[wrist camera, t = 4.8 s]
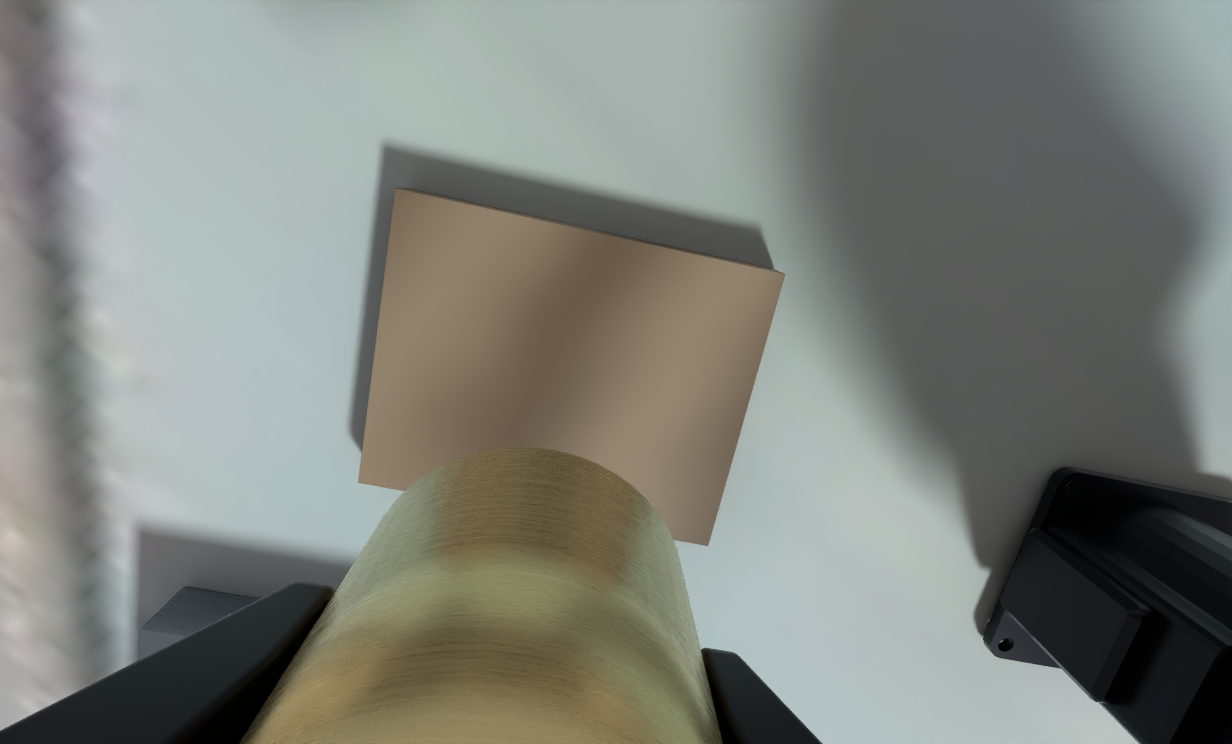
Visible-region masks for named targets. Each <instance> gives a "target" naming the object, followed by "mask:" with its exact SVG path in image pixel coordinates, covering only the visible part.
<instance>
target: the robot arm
mask: <svg viewBox="0 0 1232 744" xmlns="http://www.w3.org/2000/svg"><path fill="white" fill-rule="evenodd" d="M1071 481H1073V484H1072V486H1071V487H1070V488H1068V489H1066V486H1067V485H1068V483H1069V482H1071ZM334 593H335V590H334V589H333V588H332V587H331V586H327V585H321V584H315V583H309V582H302V581H297V582H294V583H291V584H289V585H287V586H285V587H283V588H281V589H279V590H277V591H275V592H273V593H271V594H269V595H267V596H265V597H263V598H261V599H259V600H257V601H255V602H253V603H251V604H249V605H248V606H246V607H244V608H242V609H240V610H238V611H236V612H234V613H232V614H230V615H228V616H226V617H224V618H222V619H220V620H218V621H216V622H214V623H212V624H210V625H208V626H206V627H204V628H202V629H200V630H198V631H196V632H194V633H192V634H190V635H188V636H186V637H184V638H182V639H180V640H178V641H176V642H174V643H172V644H170V645H169V646H167V647H165V648H163V649H161V650H159V651H157V652H155V653H153V654H151V655H149V656H147V657H145V658H143V659H141V660H139V661H137V662H135V663H133V664H131V665H129V666H127V667H125V668H123V669H121V670H119V671H117V672H115V673H113V674H111V675H109V676H107V677H105V678H103V679H101V680H99V681H97V682H95V683H93V684H91V685H90V686H88V687H86V688H84V689H82V690H80V691H78V692H76V693H74V694H72V695H70V696H68V697H66V698H64V699H62V700H60V701H58V702H56V703H54V704H52V705H50V706H48V707H46V708H44V709H42V710H40V711H38V712H36V713H34V714H32V715H30V716H28V717H26V718H24V719H22V720H20V721H18V722H16V723H14V724H12V725H11V726H9V727H7V728H5V729H3V730H1V731H0V744H239V742H240V741H241V739H242V738H243V736H244V735H245V733H246V731H247V730H248V728H249V727H250V725H251V724H252V722H253V720H254V719H255V717H256V716H257V714H258V713H259V711H260V709H261V708H262V706H263V705H264V703H265V702H266V700H267V699H268V697H269V695H270V694H271V692H272V691H273V689H274V688H275V686H276V684H277V683H278V681H279V680H280V678H281V677H282V675H283V673H284V672H285V670H286V669H287V667H288V666H289V664H290V662H291V661H292V659H293V658H294V656H295V655H296V653H297V651H298V650H299V648H300V647H301V645H302V644H303V642H304V641H305V639H306V637H307V636H308V634H309V633H310V631H311V630H312V628H313V626H314V625H315V623H316V622H317V620H318V619H319V617H320V615H321V614H322V612H323V611H324V609H325V608H326V606H327V604H328V603H329V601H330V600H331V598H332V597H333V595H334ZM1004 638H1006V639H1005V640H1004V641H1003V642H1001V643H999V642H1000V641H1001V640H1002V639H1004ZM983 641H984V644H985V645H986V646H987V648H988V649H989V650H990V651H991V652H992V653H993V654H994V655H995V656H996V657H999V658H1003V659H1009V660H1015V661H1020V662H1026V663H1032V664H1038V665H1043V666H1049V667H1055V668H1061V669H1062V670H1063V671H1064V672H1065V673H1066V674H1067V675H1068V676H1069V677H1070V678H1071V679H1072V680H1073V681H1074V682H1075V683H1076V684H1077V685H1078V686H1079V687H1080V688H1081V689H1082V690H1083V691H1084V692H1085V693H1086V694H1087V695H1088V696H1089V697H1090V698H1091V699H1092V700H1094V701H1095V702H1099V703H1100V704H1101V705H1102V706H1103V707H1104V708H1105V709H1106V710H1107V711H1108V712H1109V713H1110V714H1111V715H1112V716H1113V717H1114V718H1115V719H1116V720H1117V721H1118V722H1119V724H1120V725H1121V726H1122V727H1123V728H1124V729H1125V730H1126V731H1127V732H1128V733H1129V734H1130V735H1131V736H1132V737H1133V738H1134V739H1135V740H1136V741H1137V742H1138V743H1139V744H1232V499H1228V498H1223V497H1218V496H1213V495H1208V494H1203V493H1198V492H1193V491H1188V490H1183V489H1178V488H1173V487H1169V486H1164V485H1159V484H1154V483H1149V482H1144V481H1139V480H1134V479H1129V478H1124V477H1119V476H1114V475H1109V474H1104V473H1099V472H1094V471H1089V470H1084V469H1079V468H1074V467H1063V468H1061V469H1058V470H1057V471H1056V472H1054V473H1053V475H1052V476H1051V478H1050V479H1049V482H1048V484H1047V486H1046V489H1045V491H1044V493H1043V496H1042V498H1041V500H1040V503H1039V505H1038V508H1037V510H1036V512H1035V515H1034V517H1033V519H1032V522H1031V524H1030V527H1029V529H1028V531H1027V534H1026V536H1025V538H1024V541H1023V543H1022V545H1021V548H1020V550H1019V553H1018V555H1017V557H1016V560H1015V562H1014V564H1013V567H1012V569H1011V571H1010V574H1009V576H1008V579H1007V581H1006V583H1005V586H1004V588H1003V590H1002V593H1001V595H1000V598H999V600H998V602H997V605H996V607H995V609H994V612H993V614H992V616H991V619H990V621H989V624H988V626H987V628H986V631H985V633H984V637H983ZM701 653H702V657H703V661H704V666H705V670H706V674H707V679H708V683H709V687H710V691H711V696H712V700H713V704H714V708H715V713H716V717H717V721H718V726H719V730H720V734H721V738H722V743H723V744H822V743H821V742H820V741H819V740H818V739H817V738H816V737H815V735H814V734H813V733H812V732H811V731H810V730H809V729H808V728H807V727H806V726H805V725H804V724H803V723H802V722H801V721H800V720H799V719H798V718H797V716H796V715H795V714H794V713H793V712H792V711H791V710H790V709H789V708H788V707H787V706H786V705H785V704H784V703H783V702H782V701H781V700H780V699H779V698H778V696H777V695H776V694H775V693H774V692H773V691H772V690H771V689H770V688H769V687H768V686H767V685H766V684H765V683H764V682H763V681H762V680H761V679H760V677H759V676H758V675H757V674H756V673H755V672H754V671H753V670H752V669H751V668H750V667H749V666H748V665H747V664H746V663H745V662H744V661H743V660H742V658H741V657H739V656H738V655H737V654H736V653H733V652H729V651H723V650H717V649H710V648H703V649H701Z"/></svg>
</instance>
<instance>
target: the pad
mask: <svg viewBox="0 0 1232 744" xmlns="http://www.w3.org/2000/svg"><path fill="white" fill-rule="evenodd" d="M784 277H785V274H784V273H781V272H779V271H777V270H775V269H770V268H765V267H761V266H756V265H752V264H747V263H743V262H738V261H734V260H729V259H725V258H720V257H716V256H711V255H707V254H702V253H697V252H693V251H688V250H684V249H679V248H675V247H670V246H666V245H661V244H657V243H652V242H648V241H643V240H639V239H634V238H629V237H625V236H620V235H616V234H611V233H607V232H602V231H598V230H593V229H589V228H584V227H580V226H575V225H570V224H566V223H561V222H557V221H552V220H548V219H543V218H539V217H534V216H530V215H525V214H521V213H516V212H512V211H507V210H502V209H498V208H493V207H489V206H484V205H480V204H475V203H471V202H466V201H462V200H457V199H453V198H448V197H444V196H439V195H434V194H430V193H425V192H421V191H416V190H412V189H407V188H395V193H394V201H393V209H392V217H391V225H390V233H389V241H388V249H387V257H386V265H385V273H384V281H383V289H382V297H381V305H380V313H379V320H378V328H377V336H376V344H375V352H374V360H373V368H372V376H371V384H370V392H369V400H368V408H367V416H366V424H365V432H364V440H363V448H362V456H361V464H360V471H359V479H358V483H363V484H368V485H374V486H380V487H385V488H391V489H396V490H402V491H406V490H407V489H408V488H409V487H410V486H411V485H412V484H414V483H415V482H416V481H418V480H419V479H421V478H422V477H423V476H425V475H426V474H427V473H429V472H431V471H433V470H435V469H436V468H438V467H440V466H442V465H444V464H446V463H448V462H450V461H453V460H455V459H458V458H461V457H463V456H466V455H469V454H473V453H477V452H481V451H486V450H491V449H499V448H508V447H535V448H543V449H551V450H557V451H561V452H565V453H569V454H573V455H577V456H579V457H582V458H584V459H587V460H589V461H592V462H595V463H597V464H599V465H601V466H603V467H604V468H606V469H608V470H610V471H612V472H614V473H615V474H617V475H618V476H620V477H621V478H622V479H624V480H625V481H627V482H628V483H629V484H631V485H632V486H633V487H634V488H635V489H636V490H638V491H639V492H640V493H641V494H642V495H643V496H644V497H645V498H646V499H647V500H648V501H649V502H650V504H651V505H652V506H653V507H654V509H655V510H656V511H657V512H658V514H659V515H660V516H661V518H662V520H663V521H664V523H665V525H666V526H667V528H668V530H669V531H670V534H671V536H672V539H673V540H678V541H683V542H689V543H694V544H700V545H706V546H708V544H709V541H710V537H711V534H712V530H713V526H714V523H715V519H716V516H717V512H718V509H719V505H720V502H721V498H722V495H723V491H724V488H725V484H726V481H727V477H728V474H729V470H730V467H731V463H732V460H733V456H734V453H735V449H736V446H737V442H738V438H739V435H740V431H741V428H742V424H743V421H744V417H745V414H746V410H747V407H748V403H749V400H750V396H751V393H752V389H753V386H754V382H755V379H756V375H757V372H758V368H759V365H760V361H761V358H762V354H763V350H764V347H765V343H766V340H767V336H768V333H769V329H770V326H771V322H772V319H773V315H774V312H775V308H776V305H777V301H778V298H779V294H780V291H781V287H782V284H783V280H784Z"/></svg>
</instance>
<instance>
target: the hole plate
mask: <svg viewBox="0 0 1232 744" xmlns="http://www.w3.org/2000/svg"><path fill="white" fill-rule="evenodd" d="M257 600H259V599H255V598H249V597H243V596H237V595H231V594H225V593H219V592H213V591H207V590H201V589H194V588H188V587H183V588H182V589H181V590H180V591H179V592H178V593H177V594H176V595H175V596H174V597H173V598H172V599H171V600H170V601H169V602H168V603H167V604H166V605H165V606H164V607H163V608H162V609H161V610H160V611H159V612H158V613H157V614H156V615H155V616H154V617H152V618H151V619H150V620H149V621H148V622H147V623H146V624H145V625H144V626H143V627H142V628H141V629H140V653H139V660H141V659H143V658H145V657H147V656H149V655H151V654H153V653H155V652H157V651H159V650H161V649H163V648H165V647H167V646H169V645H170V644H172V643H174V642H176V641H178V640H180V639H182V638H184V637H186V636H188V635H190V634H192V633H194V632H196V631H198V630H200V629H202V628H204V627H206V626H208V625H210V624H212V623H214V622H216V621H218V620H220V619H222V618H224V617H226V616H228V615H230V614H232V613H234V612H236V611H238V610H240V609H242V608H244V607H246V606H248V605H249V604H251V603H253V602H255V601H257Z"/></svg>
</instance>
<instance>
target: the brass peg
mask: <svg viewBox="0 0 1232 744" xmlns="http://www.w3.org/2000/svg"><path fill="white" fill-rule="evenodd" d="M239 744H723V743H722V738H721V734H720V730H719V726H718V721H717V717H716V713H715V708H714V704H713V700H712V696H711V691H710V687H709V683H708V679H707V674H706V670H705V666H704V661H703V657H702V653H701V649H700V644H699V640H698V636H697V631H696V627H695V623H694V619H693V614H692V610H691V606H690V602H689V597H688V593H687V589H686V584H685V580H684V576H683V572H682V567H681V563H680V559H679V555H678V551H677V548H676V546H675V543H674V541H673V539H672V536H671V534H670V531H669V530H668V528H667V526H666V525H665V523H664V521H663V520H662V518H661V516H660V515H659V514H658V512H657V511H656V510H655V509H654V507H653V506H652V505H651V504H650V502H649V501H648V500H647V499H646V498H645V497H644V496H643V495H642V494H641V493H640V492H639V491H638V490H636V489H635V488H634V487H633V486H632V485H631V484H629V483H628V482H627V481H625V480H624V479H622V478H621V477H620V476H618V475H617V474H615V473H614V472H612V471H610V470H608V469H606V468H604V467H603V466H601V465H599V464H597V463H595V462H592V461H589V460H587V459H584V458H582V457H579V456H577V455H573V454H569V453H565V452H561V451H557V450H551V449H543V448H535V447H508V448H499V449H491V450H486V451H481V452H477V453H473V454H469V455H466V456H463V457H461V458H458V459H455V460H453V461H450V462H448V463H446V464H444V465H442V466H440V467H438V468H436V469H435V470H433V471H431V472H429V473H427V474H426V475H425V476H423V477H422V478H421V479H419V480H418V481H416V482H415V483H414V484H412V485H411V486H410V487H409V488H408V489H407V490H406V491H405V492H404V493H403V494H402V495H401V496H400V497H399V498H398V499H397V500H396V501H395V502H394V503H393V505H392V506H391V507H390V509H389V510H388V511H387V512H386V514H385V515H384V517H383V518H382V520H381V521H380V523H379V524H378V526H377V528H376V529H375V531H374V532H373V534H372V535H371V537H370V539H369V540H368V542H367V543H366V545H365V546H364V548H363V550H362V551H361V553H360V554H359V556H358V557H357V559H356V561H355V562H354V564H353V565H352V567H351V568H350V570H349V572H348V573H347V575H346V576H345V578H344V579H343V581H342V582H341V584H340V586H339V587H338V589H337V590H336V592H335V593H334V595H333V597H332V598H331V600H330V601H329V603H328V604H327V606H326V608H325V609H324V611H323V612H322V614H321V615H320V617H319V619H318V620H317V622H316V623H315V625H314V626H313V628H312V630H311V631H310V633H309V634H308V636H307V637H306V639H305V641H304V642H303V644H302V645H301V647H300V648H299V650H298V651H297V653H296V655H295V656H294V658H293V659H292V661H291V662H290V664H289V666H288V667H287V669H286V670H285V672H284V673H283V675H282V677H281V678H280V680H279V681H278V683H277V684H276V686H275V688H274V689H273V691H272V692H271V694H270V695H269V697H268V699H267V700H266V702H265V703H264V705H263V706H262V708H261V709H260V711H259V713H258V714H257V716H256V717H255V719H254V720H253V722H252V724H251V725H250V727H249V728H248V730H247V731H246V733H245V735H244V736H243V738H242V739H241V741H240V742H239Z"/></svg>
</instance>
